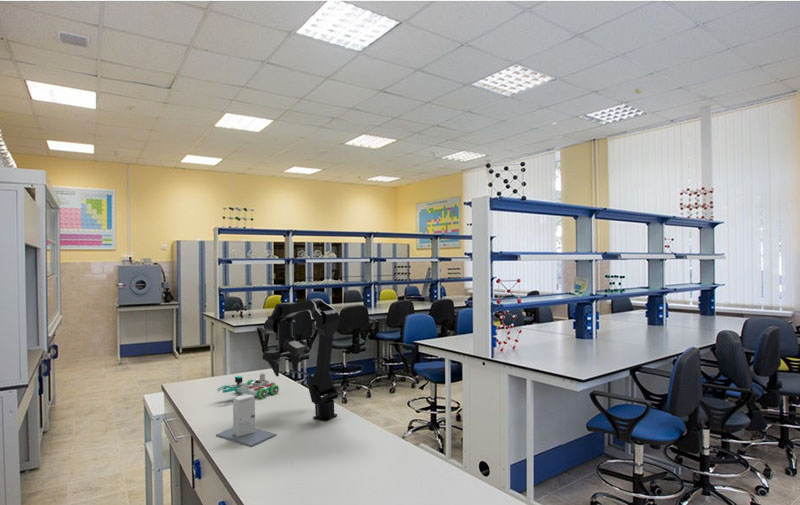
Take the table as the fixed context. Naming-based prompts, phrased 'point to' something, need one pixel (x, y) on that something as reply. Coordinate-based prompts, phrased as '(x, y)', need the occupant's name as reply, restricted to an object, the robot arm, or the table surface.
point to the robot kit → (252, 387)
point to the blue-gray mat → (247, 437)
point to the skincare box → (243, 415)
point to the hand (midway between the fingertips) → (286, 373)
